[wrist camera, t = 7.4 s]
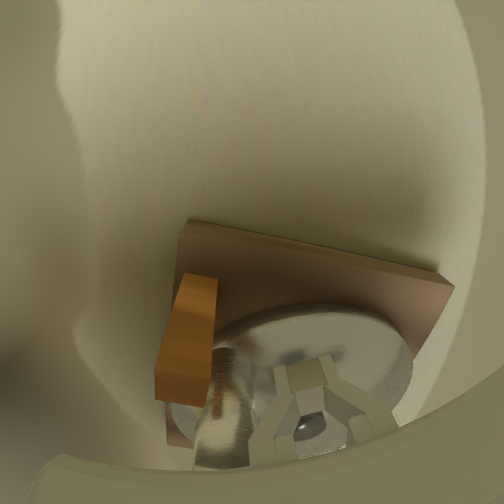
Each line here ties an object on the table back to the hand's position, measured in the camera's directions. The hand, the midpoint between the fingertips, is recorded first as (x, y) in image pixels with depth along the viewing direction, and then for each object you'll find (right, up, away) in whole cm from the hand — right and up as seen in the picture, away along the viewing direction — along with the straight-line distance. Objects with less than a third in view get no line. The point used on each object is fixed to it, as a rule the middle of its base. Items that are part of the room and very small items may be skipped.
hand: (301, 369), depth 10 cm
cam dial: (+1, -5, +6) cm, 8 cm away
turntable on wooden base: (+1, -4, +8) cm, 9 cm away
